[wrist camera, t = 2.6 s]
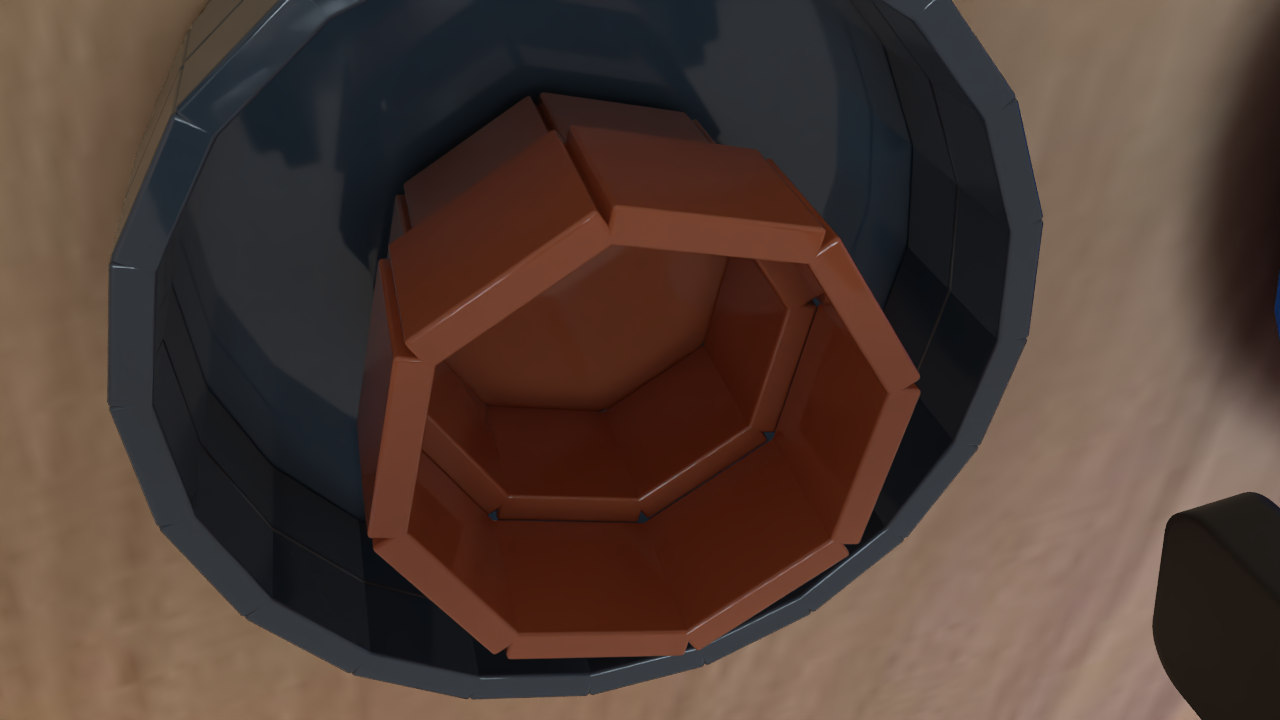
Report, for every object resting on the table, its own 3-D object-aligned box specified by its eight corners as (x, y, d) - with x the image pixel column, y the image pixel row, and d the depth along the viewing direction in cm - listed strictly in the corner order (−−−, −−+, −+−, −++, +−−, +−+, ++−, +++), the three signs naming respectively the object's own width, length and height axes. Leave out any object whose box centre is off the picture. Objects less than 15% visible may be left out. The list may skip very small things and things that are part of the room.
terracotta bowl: (332, 424, 18) (348, 664, 14) (380, 24, 15) (419, 184, 11) (707, 440, 20) (816, 655, 16) (815, 92, 17) (983, 246, 13)
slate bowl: (129, 545, 19) (103, 713, 16) (148, -281, 13) (113, -247, 10) (799, 552, 23) (873, 688, 20) (1039, -82, 17) (1190, -17, 14)
